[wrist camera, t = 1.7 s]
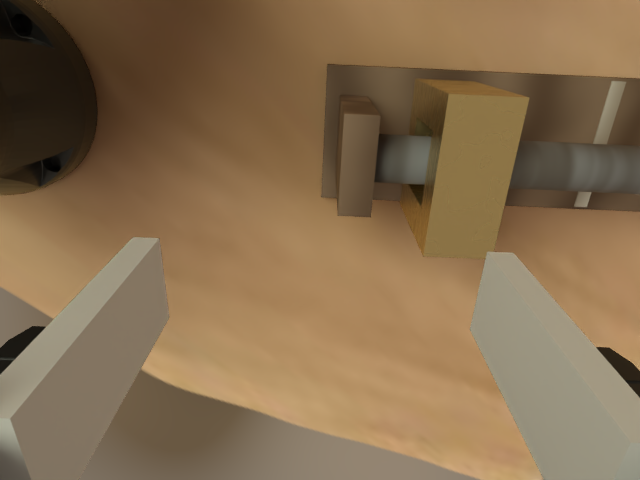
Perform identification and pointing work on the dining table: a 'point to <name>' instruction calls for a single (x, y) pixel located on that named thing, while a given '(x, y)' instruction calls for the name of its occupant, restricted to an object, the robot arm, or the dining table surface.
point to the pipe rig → (533, 150)
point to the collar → (462, 165)
